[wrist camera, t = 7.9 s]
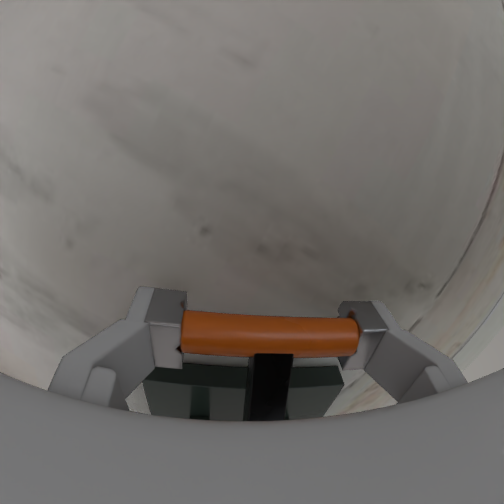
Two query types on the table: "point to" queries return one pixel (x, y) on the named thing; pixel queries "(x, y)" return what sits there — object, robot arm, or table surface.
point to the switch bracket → (234, 392)
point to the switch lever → (267, 350)
